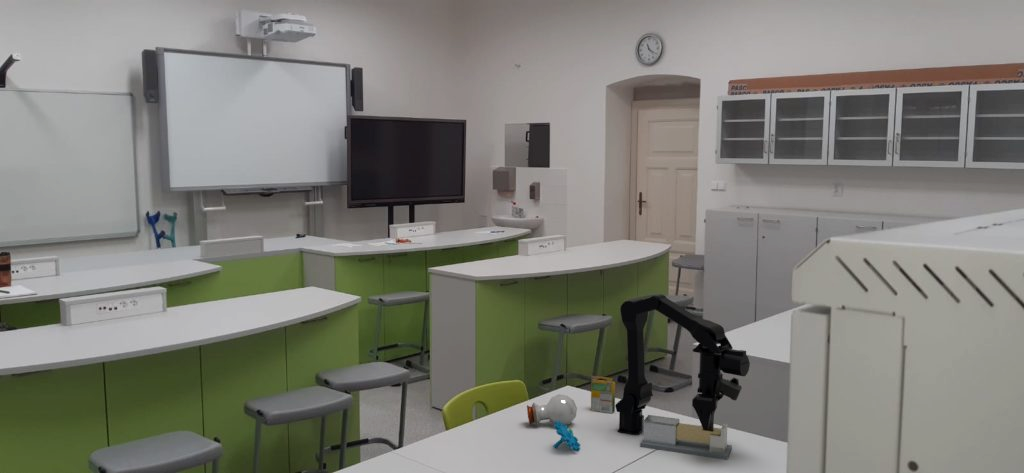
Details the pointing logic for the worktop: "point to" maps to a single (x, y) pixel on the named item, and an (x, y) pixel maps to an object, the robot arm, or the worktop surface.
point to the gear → (566, 436)
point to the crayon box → (602, 395)
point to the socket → (719, 441)
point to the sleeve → (660, 430)
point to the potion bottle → (553, 410)
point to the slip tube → (697, 432)
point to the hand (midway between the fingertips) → (708, 424)
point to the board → (689, 448)
